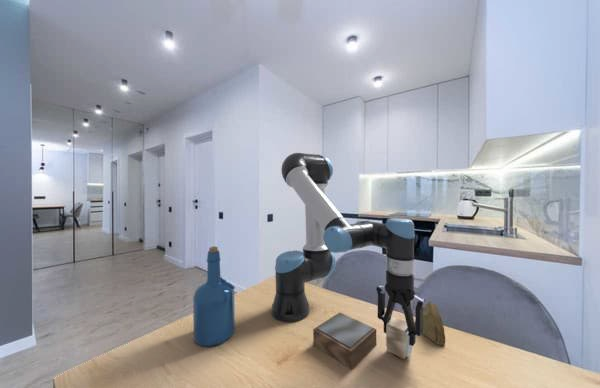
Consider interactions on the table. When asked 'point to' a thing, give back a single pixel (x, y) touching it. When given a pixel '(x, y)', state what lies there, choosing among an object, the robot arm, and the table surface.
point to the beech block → (397, 337)
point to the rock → (433, 324)
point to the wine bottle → (213, 305)
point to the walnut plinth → (345, 339)
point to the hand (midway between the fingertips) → (398, 349)
